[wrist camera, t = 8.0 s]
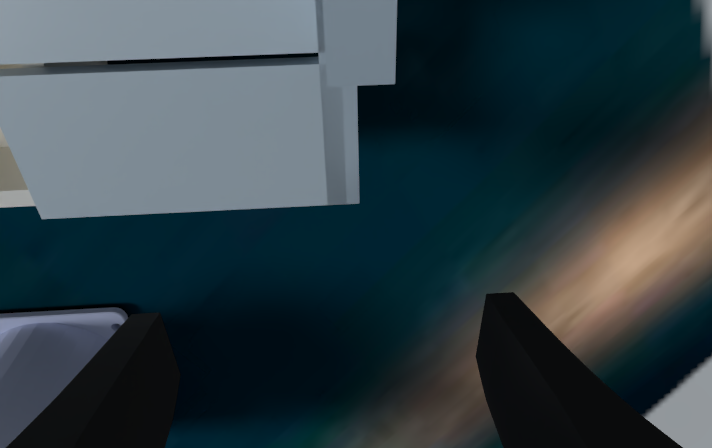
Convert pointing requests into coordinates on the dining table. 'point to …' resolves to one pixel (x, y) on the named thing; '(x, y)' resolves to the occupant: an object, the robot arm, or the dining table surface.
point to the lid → (189, 102)
